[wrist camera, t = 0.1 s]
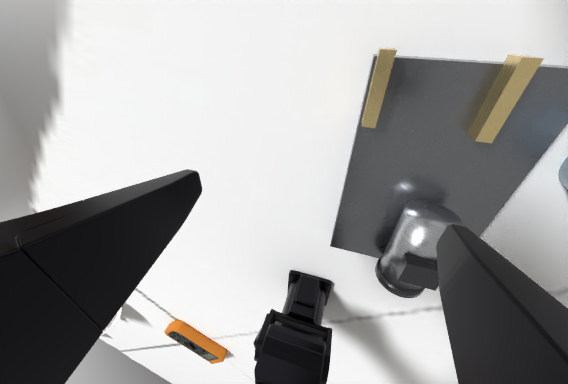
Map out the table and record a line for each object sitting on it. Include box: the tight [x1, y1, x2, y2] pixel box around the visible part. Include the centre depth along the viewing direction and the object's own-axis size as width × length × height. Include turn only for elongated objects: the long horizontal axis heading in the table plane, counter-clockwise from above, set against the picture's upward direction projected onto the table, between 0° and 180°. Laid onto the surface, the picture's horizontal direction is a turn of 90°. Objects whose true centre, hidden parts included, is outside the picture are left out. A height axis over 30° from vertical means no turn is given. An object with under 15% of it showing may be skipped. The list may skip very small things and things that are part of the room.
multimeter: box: [165, 320, 227, 364], centre depth 66 cm, size 9×18×3 cm, turn 52°
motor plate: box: [330, 48, 568, 298], centre depth 19 cm, size 20×13×7 cm, turn 178°
